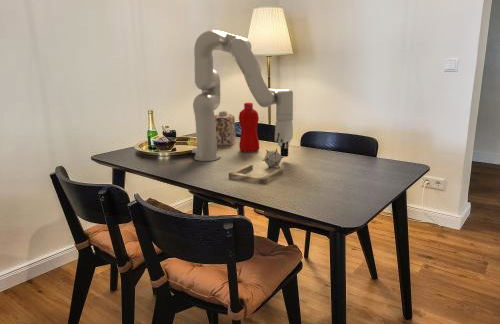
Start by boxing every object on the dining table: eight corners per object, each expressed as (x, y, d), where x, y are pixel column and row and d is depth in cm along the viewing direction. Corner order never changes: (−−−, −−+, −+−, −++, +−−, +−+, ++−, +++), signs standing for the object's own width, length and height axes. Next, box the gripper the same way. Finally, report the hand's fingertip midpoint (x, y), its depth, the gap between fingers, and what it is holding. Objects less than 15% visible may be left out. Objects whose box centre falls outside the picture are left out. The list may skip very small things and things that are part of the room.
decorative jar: (216, 141, 235) (214, 110, 230) (235, 141, 233) (234, 110, 229) (212, 145, 223) (210, 113, 218) (232, 145, 222) (231, 113, 217)
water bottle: (247, 154, 202) (246, 104, 196) (237, 150, 211) (235, 102, 205) (263, 152, 207) (262, 103, 200) (252, 147, 216) (251, 101, 209)
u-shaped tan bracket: (228, 177, 165) (228, 173, 165) (248, 168, 178) (248, 164, 177) (264, 184, 157) (264, 179, 156) (282, 173, 169) (282, 169, 169)
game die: (276, 176, 179) (281, 162, 171) (258, 169, 179) (263, 154, 172) (282, 162, 184) (287, 148, 177) (264, 155, 185) (269, 141, 177)
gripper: (284, 114, 191) (284, 151, 195) (269, 118, 178) (269, 158, 183) (299, 115, 187) (298, 153, 192) (284, 120, 175) (284, 160, 179)
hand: (284, 156), depth 187 cm, fingers closed
